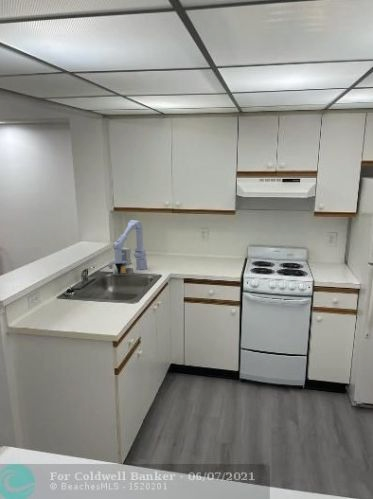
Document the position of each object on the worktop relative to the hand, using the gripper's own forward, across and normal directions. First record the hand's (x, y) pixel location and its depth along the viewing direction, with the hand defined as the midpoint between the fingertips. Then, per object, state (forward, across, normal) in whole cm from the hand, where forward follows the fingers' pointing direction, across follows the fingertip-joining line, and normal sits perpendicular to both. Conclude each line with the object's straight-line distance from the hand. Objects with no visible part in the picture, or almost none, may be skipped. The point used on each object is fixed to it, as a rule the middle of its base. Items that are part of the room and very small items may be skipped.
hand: (118, 272), depth 297 cm
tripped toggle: (+1, -4, +1) cm, 4 cm away
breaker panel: (+2, -5, -6) cm, 8 cm away
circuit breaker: (+2, -10, -28) cm, 30 cm away
